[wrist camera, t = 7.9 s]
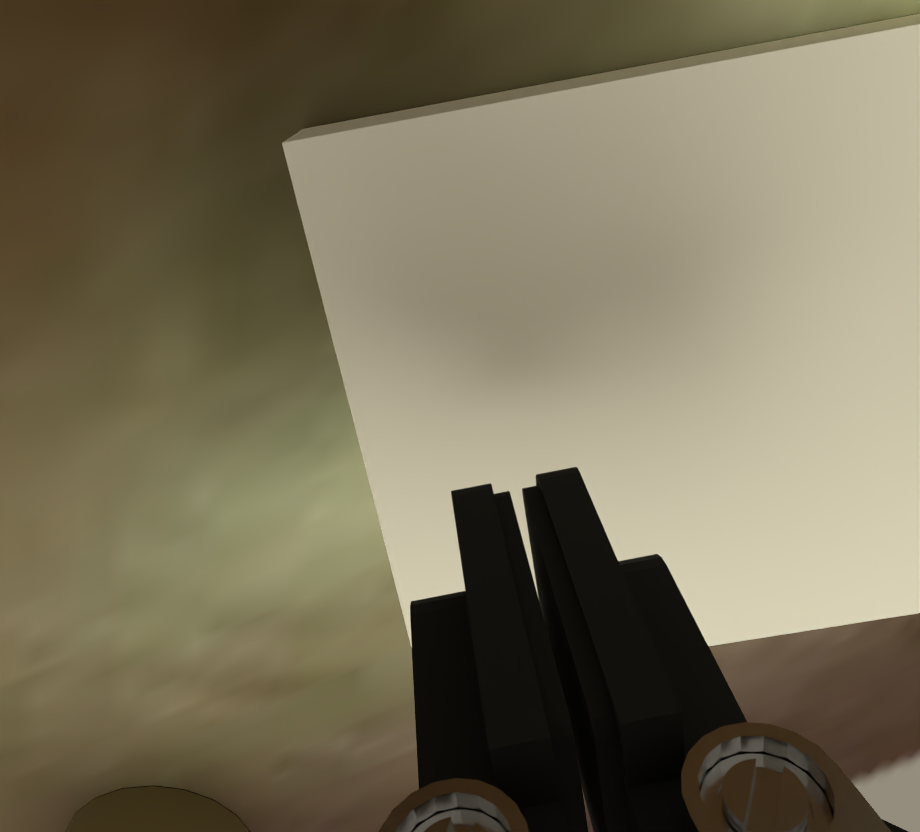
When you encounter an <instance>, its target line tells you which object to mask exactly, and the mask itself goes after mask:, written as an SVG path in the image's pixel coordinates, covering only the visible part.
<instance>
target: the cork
mask: <svg viewBox="0 0 920 832" xmlns="http://www.w3.org/2000/svg"><path fill="white" fill-rule="evenodd" d="M65 832H249V830H248V829H247V828H246V827H245V826H244V824H243V823H242V822H241V821H240V819H239V818H238V817H237V816H236V815H235V814H233V813H232V812H230V811H229V810H227V809H226V808H224V807H223V806H221V805H220V804H218V803H217V802H215V801H214V800H211V799H208V798H205V797H203V796H200V795H197V794H194V793H191V792H188V791H186V790H180V789H172V788H164V787H156V786H148V787H137V788H126V789H120V790H117V791H114V792H111V793H109V794H106V795H103V796H100V797H97V798H95V799H93V800H92V801H91V802H89V803H88V804H87V805H85V806H84V807H83V808H81V809H80V810H79V811H77V812H76V813H75V815H74V817H73V819H72V820H71V822H70V824H69V826H68V827H67V829H66V831H65Z"/></svg>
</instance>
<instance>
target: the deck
mask: <svg viewBox="0 0 920 832" xmlns="http://www.w3.org/2000/svg"><path fill="white" fill-rule="evenodd" d="M282 145H283V149H284V153H285V157H286V161H287V165H288V169H289V173H290V176H291V180H292V184H293V188H294V192H295V196H296V200H297V204H298V208H299V211H300V215H301V219H302V223H303V227H304V231H305V235H306V239H307V243H308V247H309V250H310V254H311V258H312V262H313V266H314V270H315V274H316V278H317V282H318V285H319V289H320V293H321V297H322V301H323V305H324V309H325V313H326V317H327V320H328V324H329V328H330V332H331V336H332V340H333V344H334V348H335V352H336V355H337V359H338V363H339V367H340V371H341V375H342V379H343V383H344V387H345V390H346V394H347V398H348V402H349V406H350V410H351V414H352V418H353V422H354V425H355V429H356V433H357V437H358V441H359V445H360V449H361V453H362V457H363V460H364V464H365V468H366V472H367V476H368V480H369V484H370V488H371V492H372V495H373V499H374V503H375V507H376V511H377V515H378V519H379V523H380V527H381V531H382V534H383V538H384V542H385V546H386V550H387V554H388V558H389V562H390V566H391V569H392V573H393V577H394V581H395V585H396V589H397V593H398V597H399V601H400V604H401V608H402V612H403V616H404V620H405V624H406V628H407V632H408V636H409V639H410V643H411V647H412V640H411V621H410V604H411V601H415V600H421V599H426V598H431V597H436V596H441V595H446V594H452V593H457V592H462V591H465V584H464V578H463V571H462V564H461V557H460V550H459V544H458V537H457V530H456V523H455V516H454V510H453V503H452V496H451V491H453V490H458V489H463V488H469V487H474V486H479V485H484V484H489V483H491V484H492V488H493V493H494V494H496V493H501V492H506V491H509V492H510V495H511V498H512V502H513V506H514V510H515V513H516V517H517V521H518V524H519V528H520V532H521V536H522V539H523V543H524V547H525V551H526V554H527V558H528V562H529V566H530V569H531V573H532V577H533V580H534V584H535V588H536V592H537V595H538V591H537V585H536V578H535V572H534V565H533V559H532V553H531V546H530V540H529V533H528V527H527V521H526V514H525V508H524V501H523V494H522V488H527V487H532V486H536V474H541V473H547V472H552V471H557V470H562V469H567V468H572V467H577V468H578V470H579V471H580V474H581V476H582V478H583V481H584V483H585V485H586V488H587V490H588V492H589V495H590V497H591V499H592V502H593V504H594V506H595V509H596V511H597V513H598V516H599V518H600V520H601V523H602V525H603V527H604V530H605V532H606V534H607V537H608V539H609V541H610V544H611V546H612V548H613V551H614V553H615V555H616V558H617V560H618V561H623V560H628V559H633V558H638V557H643V556H649V555H654V554H658V555H660V556H661V557H662V558H663V560H664V562H665V563H666V565H667V567H668V569H669V571H670V573H671V575H672V576H673V578H674V580H675V582H676V584H677V586H678V588H679V590H680V592H681V594H682V596H683V598H684V600H685V602H686V604H687V606H688V608H689V610H690V612H691V614H692V615H693V617H694V619H695V621H696V623H697V625H698V627H699V629H700V631H701V633H702V635H703V637H704V639H705V641H706V643H707V645H708V646H713V645H719V644H725V643H732V642H738V641H744V640H751V639H757V638H763V637H770V636H776V635H783V634H789V633H795V632H802V631H808V630H814V629H821V628H827V627H833V626H840V625H846V624H853V623H859V622H865V621H872V620H878V619H884V618H891V617H897V616H903V615H910V614H916V613H920V14H915V15H910V16H904V17H899V18H894V19H888V20H883V21H878V22H872V23H867V24H862V25H856V26H851V27H846V28H840V29H835V30H830V31H824V32H819V33H813V34H808V35H803V36H797V37H792V38H787V39H781V40H776V41H771V42H765V43H760V44H755V45H749V46H744V47H738V48H733V49H728V50H722V51H717V52H712V53H706V54H701V55H696V56H690V57H685V58H680V59H674V60H669V61H664V62H658V63H653V64H647V65H642V66H637V67H631V68H626V69H621V70H615V71H610V72H605V73H599V74H594V75H589V76H583V77H578V78H572V79H567V80H562V81H556V82H551V83H546V84H540V85H535V86H530V87H524V88H519V89H514V90H508V91H503V92H498V93H492V94H487V95H481V96H476V97H471V98H465V99H460V100H455V101H449V102H444V103H439V104H433V105H428V106H423V107H417V108H412V109H406V110H401V111H396V112H390V113H385V114H380V115H374V116H369V117H364V118H358V119H353V120H348V121H342V122H337V123H332V124H326V125H321V126H315V127H310V128H305V129H302V130H300V131H299V132H297V133H296V134H294V135H293V136H291V137H290V138H288V139H287V140H285V141H284V142H282ZM538 599H539V597H538Z"/></svg>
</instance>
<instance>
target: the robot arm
mask: <svg viewBox="0 0 920 832" xmlns="http://www.w3.org/2000/svg"><path fill="white" fill-rule="evenodd" d="M522 494H523V501H524V508H525V514H526V521H527V527H528V533H529V540H530V546H531V553H532V559H533V565H534V572H535V578H536V585H537V591H538V595H537V592H536V588H535V584H534V580H533V577H532V573H531V569H530V566H529V562H528V558H527V554H526V551H525V547H524V543H523V539H522V536H521V532H520V528H519V524H518V521H517V517H516V513H515V510H514V506H513V502H512V498H511V495H510V492H509V491H506V492H501V493H496V494H494V493H493V488H492V484H491V483H489V484H484V485H479V486H474V487H469V488H463V489H458V490H453V491H451V496H452V503H453V510H454V516H455V523H456V530H457V537H458V544H459V550H460V557H461V564H462V571H463V578H464V584H465V591H462V592H457V593H452V594H446V595H441V596H436V597H431V598H426V599H421V600H415V601H411V604H410V621H411V640H412V660H413V680H414V699H415V719H416V739H417V758H418V778H419V790H417V791H415V792H413V793H411V794H410V795H409V796H408V797H407V798H405V799H404V800H403V801H402V802H401V803H400V804H399V805H398V806H396V807H395V808H394V809H393V810H392V812H391V813H390V815H389V816H388V818H387V819H386V821H385V822H384V824H383V825H382V827H381V829H380V830H379V832H588V827H587V820H586V813H585V806H584V799H583V792H584V796H585V800H586V804H587V808H588V812H589V815H590V819H591V823H592V827H593V831H594V832H908V831H906V830H903V829H901V828H899V827H897V826H895V825H893V824H891V823H889V822H887V821H884V820H882V819H881V818H880V817H879V816H878V814H877V813H876V812H875V811H874V809H873V808H872V807H871V806H870V804H869V803H868V802H867V801H866V799H865V798H864V797H863V796H862V794H861V793H860V792H859V791H858V789H857V788H856V787H855V786H854V784H853V783H852V782H851V781H850V779H849V778H848V777H847V776H846V774H845V773H844V772H843V771H842V769H841V768H840V767H839V766H838V764H837V763H836V762H835V761H834V760H833V759H831V758H830V757H829V756H828V755H827V754H826V753H825V752H824V751H823V750H822V749H821V748H820V747H819V746H818V745H816V744H815V743H813V742H811V741H809V740H808V739H806V738H804V737H803V736H801V735H799V734H798V733H796V732H794V731H790V730H787V729H784V728H781V727H778V726H775V725H771V724H763V723H749V722H747V721H746V719H745V717H744V715H743V713H742V711H741V709H740V707H739V705H738V703H737V701H736V699H735V697H734V695H733V693H732V691H731V690H730V688H729V686H728V684H727V682H726V680H725V678H724V676H723V674H722V672H721V670H720V668H719V666H718V664H717V662H716V660H715V658H714V656H713V654H712V652H711V651H710V649H709V647H708V645H707V643H706V641H705V639H704V637H703V635H702V633H701V631H700V629H699V627H698V625H697V623H696V621H695V619H694V617H693V615H692V614H691V612H690V610H689V608H688V606H687V604H686V602H685V600H684V598H683V596H682V594H681V592H680V590H679V588H678V586H677V584H676V582H675V580H674V578H673V576H672V575H671V573H670V571H669V569H668V567H667V565H666V563H665V562H664V560H663V558H662V557H661V556H660V555H658V554H654V555H649V556H643V557H638V558H633V559H628V560H623V561H618V560H617V558H616V555H615V553H614V551H613V548H612V546H611V544H610V541H609V539H608V537H607V534H606V532H605V530H604V527H603V525H602V523H601V520H600V518H599V516H598V513H597V511H596V509H595V506H594V504H593V502H592V499H591V497H590V495H589V492H588V490H587V488H586V485H585V483H584V481H583V478H582V476H581V474H580V471H579V470H578V468H577V467H572V468H567V469H562V470H557V471H552V472H547V473H541V474H536V486H532V487H527V488H522ZM538 597H539V599H538ZM582 789H583V792H582Z"/></svg>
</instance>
